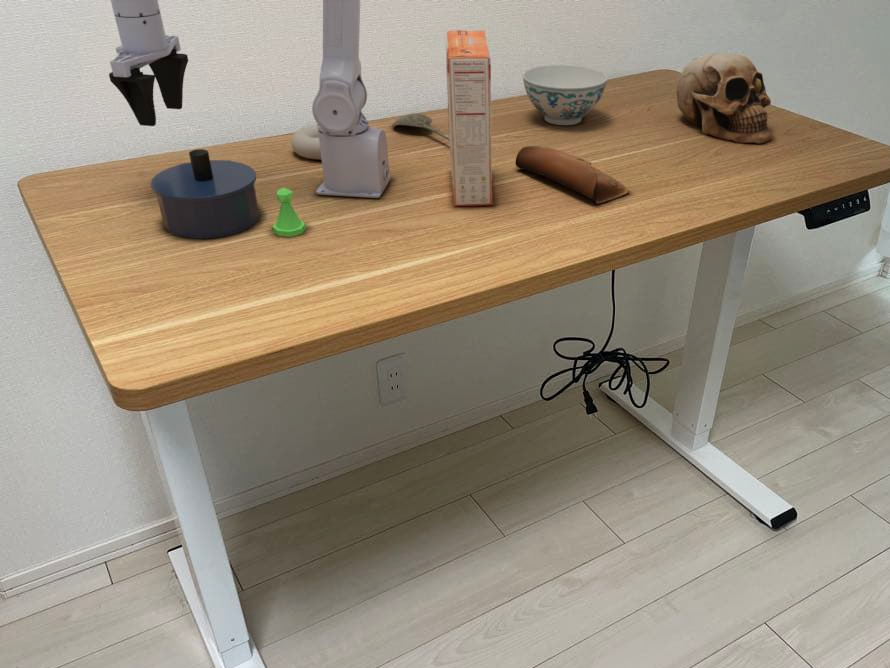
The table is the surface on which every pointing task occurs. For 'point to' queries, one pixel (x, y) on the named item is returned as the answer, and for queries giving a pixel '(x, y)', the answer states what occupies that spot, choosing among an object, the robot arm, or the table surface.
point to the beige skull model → (725, 97)
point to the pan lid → (203, 179)
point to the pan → (210, 215)
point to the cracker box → (469, 116)
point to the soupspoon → (418, 123)
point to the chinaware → (564, 91)
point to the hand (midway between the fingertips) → (161, 116)
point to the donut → (307, 142)
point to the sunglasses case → (571, 173)
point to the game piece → (287, 216)
